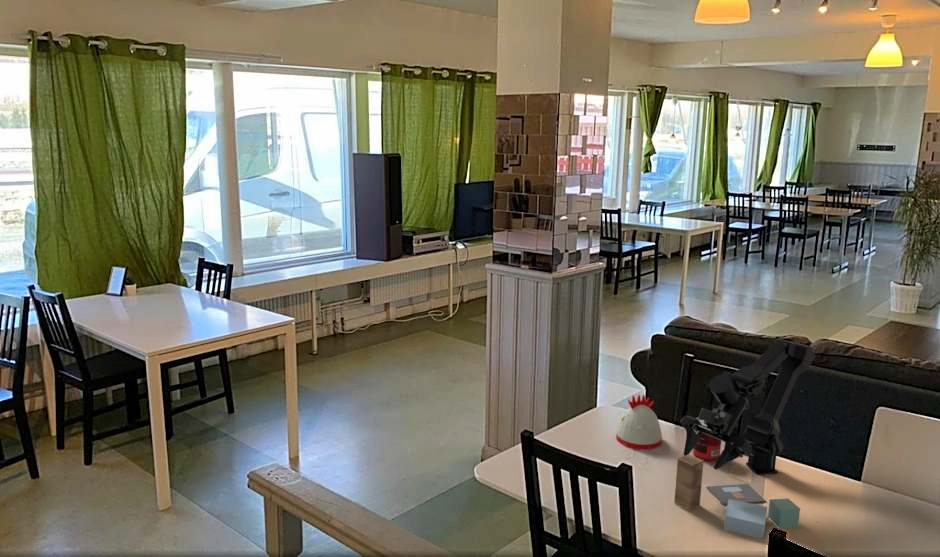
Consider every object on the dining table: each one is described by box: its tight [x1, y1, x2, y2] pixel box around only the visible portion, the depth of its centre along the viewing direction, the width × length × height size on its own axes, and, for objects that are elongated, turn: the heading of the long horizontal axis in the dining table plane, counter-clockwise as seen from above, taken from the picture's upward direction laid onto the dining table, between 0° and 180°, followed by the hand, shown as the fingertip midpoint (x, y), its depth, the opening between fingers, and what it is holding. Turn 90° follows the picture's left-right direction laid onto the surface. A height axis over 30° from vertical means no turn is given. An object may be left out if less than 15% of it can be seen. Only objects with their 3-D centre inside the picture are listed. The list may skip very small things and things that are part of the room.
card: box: [706, 483, 767, 506], centre depth 187 cm, size 12×9×1 cm
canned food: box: [692, 417, 722, 462], centre depth 209 cm, size 8×8×11 cm
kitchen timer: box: [615, 393, 663, 451], centre depth 219 cm, size 14×14×15 cm
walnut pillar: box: [673, 453, 704, 511], centre depth 181 cm, size 4×4×12 cm
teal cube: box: [767, 497, 801, 529], centre depth 174 cm, size 5×5×5 cm
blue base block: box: [723, 499, 768, 539], centre depth 172 cm, size 9×9×4 cm
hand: (699, 462), depth 182 cm, fingers open, 9 cm apart
